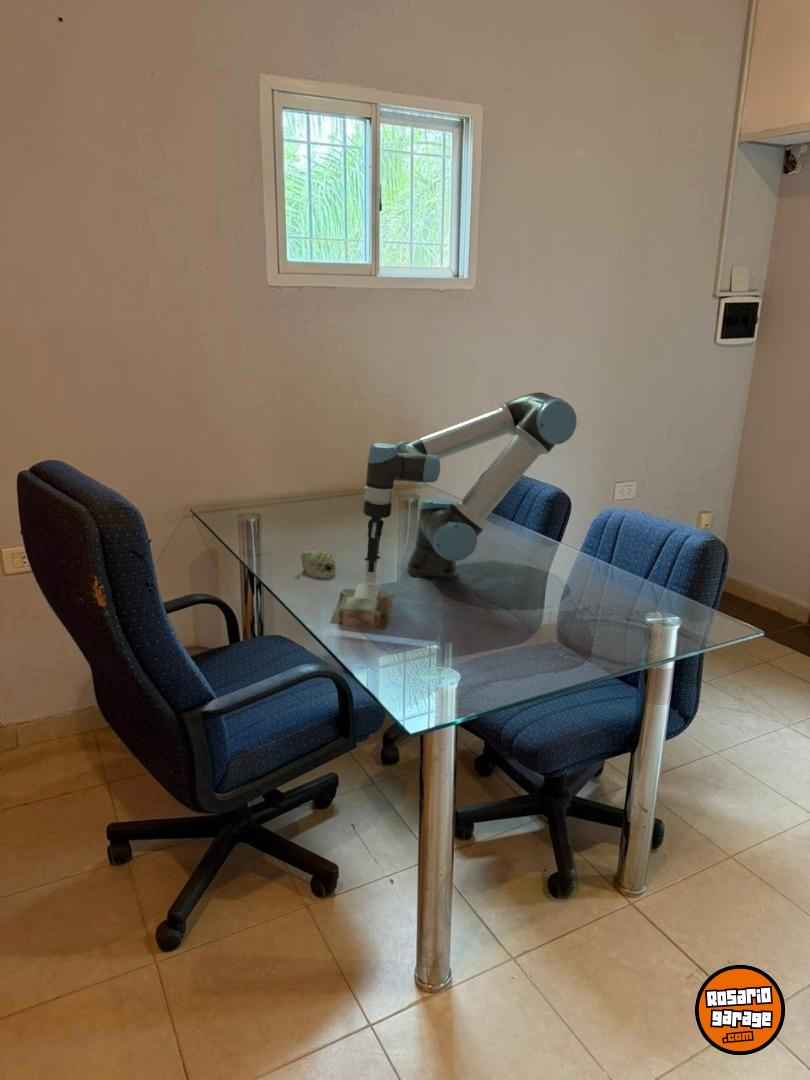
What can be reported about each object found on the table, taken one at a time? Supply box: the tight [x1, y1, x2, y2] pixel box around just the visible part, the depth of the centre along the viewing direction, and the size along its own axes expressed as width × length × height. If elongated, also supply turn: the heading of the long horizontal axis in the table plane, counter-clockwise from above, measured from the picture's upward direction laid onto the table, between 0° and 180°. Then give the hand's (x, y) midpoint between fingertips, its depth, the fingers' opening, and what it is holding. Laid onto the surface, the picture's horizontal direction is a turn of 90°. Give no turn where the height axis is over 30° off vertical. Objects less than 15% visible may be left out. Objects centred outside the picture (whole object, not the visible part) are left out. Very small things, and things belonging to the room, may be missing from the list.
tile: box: [354, 583, 381, 600], centre depth 200 cm, size 6×11×2 cm, turn 177°
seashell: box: [300, 550, 336, 580], centre depth 216 cm, size 10×10×10 cm
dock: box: [329, 588, 394, 631], centre depth 194 cm, size 14×23×6 cm, turn 177°
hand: (370, 581), depth 210 cm, fingers closed
